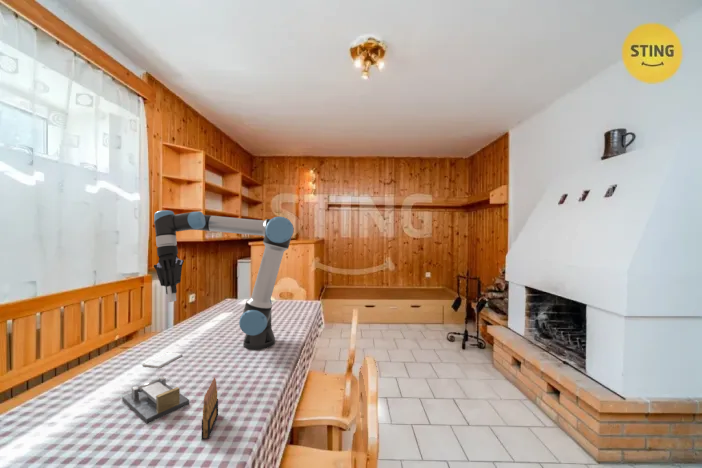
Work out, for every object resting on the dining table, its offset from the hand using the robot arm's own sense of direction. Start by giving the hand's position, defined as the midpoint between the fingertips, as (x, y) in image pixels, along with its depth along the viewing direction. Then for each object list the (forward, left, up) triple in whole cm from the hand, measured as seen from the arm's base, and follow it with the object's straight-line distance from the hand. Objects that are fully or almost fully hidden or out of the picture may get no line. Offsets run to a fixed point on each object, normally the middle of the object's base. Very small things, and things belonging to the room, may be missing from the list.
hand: (172, 301), depth 122 cm
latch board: (-6, +28, -27) cm, 39 cm away
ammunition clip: (-28, +43, -27) cm, 58 cm away
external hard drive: (+6, -6, -28) cm, 29 cm away
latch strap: (-3, +24, -23) cm, 34 cm away
